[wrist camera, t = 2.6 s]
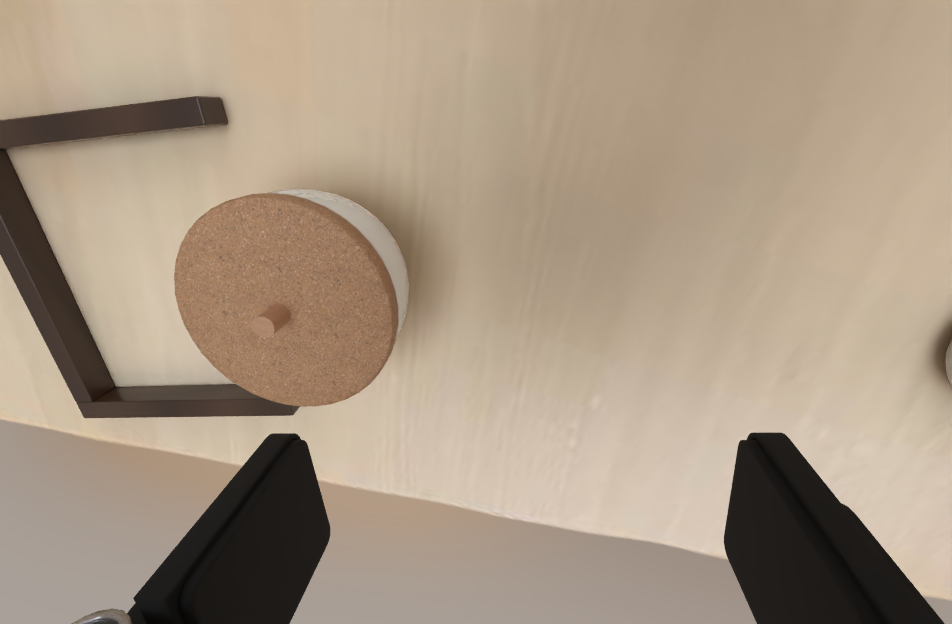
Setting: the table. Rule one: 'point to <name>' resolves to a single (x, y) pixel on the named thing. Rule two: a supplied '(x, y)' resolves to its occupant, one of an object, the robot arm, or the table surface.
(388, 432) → the table surface
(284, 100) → the table surface
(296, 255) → the trinket box
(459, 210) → the table surface
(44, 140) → the frame
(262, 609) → the robot arm
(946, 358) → the plastic bottle
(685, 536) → the table surface
